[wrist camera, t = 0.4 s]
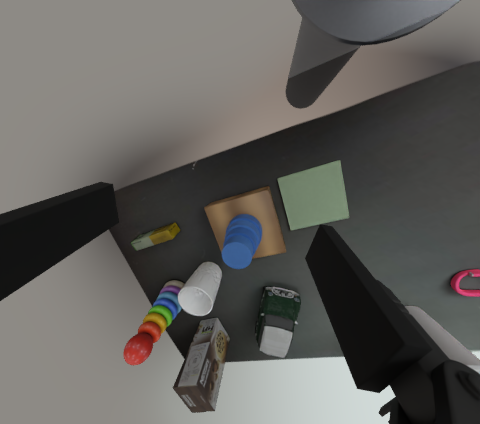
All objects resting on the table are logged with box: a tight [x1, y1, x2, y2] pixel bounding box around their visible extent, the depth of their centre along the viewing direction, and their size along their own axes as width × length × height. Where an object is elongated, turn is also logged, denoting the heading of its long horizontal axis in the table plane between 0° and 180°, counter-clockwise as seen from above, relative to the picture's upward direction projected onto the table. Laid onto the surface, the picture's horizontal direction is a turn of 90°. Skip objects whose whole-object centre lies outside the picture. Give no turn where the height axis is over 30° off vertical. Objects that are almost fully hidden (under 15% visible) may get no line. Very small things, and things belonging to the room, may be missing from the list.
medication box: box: [130, 223, 180, 251], centre depth 42 cm, size 12×3×4 cm, turn 112°
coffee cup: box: [405, 306, 480, 374], centre depth 33 cm, size 10×10×15 cm
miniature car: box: [255, 286, 301, 358], centre depth 42 cm, size 9×18×8 cm, turn 173°
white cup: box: [178, 262, 222, 316], centre depth 41 cm, size 8×8×10 cm
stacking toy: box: [124, 280, 185, 365], centre depth 41 cm, size 8×8×19 cm
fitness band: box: [451, 269, 480, 296], centre depth 35 cm, size 8×6×2 cm
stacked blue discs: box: [222, 214, 262, 269], centre depth 31 cm, size 7×7×10 cm
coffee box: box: [173, 318, 230, 413], centre depth 45 cm, size 9×6×16 cm
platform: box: [204, 186, 286, 259], centre depth 38 cm, size 14×14×4 cm
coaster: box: [277, 160, 349, 230], centre depth 35 cm, size 12×12×1 cm
